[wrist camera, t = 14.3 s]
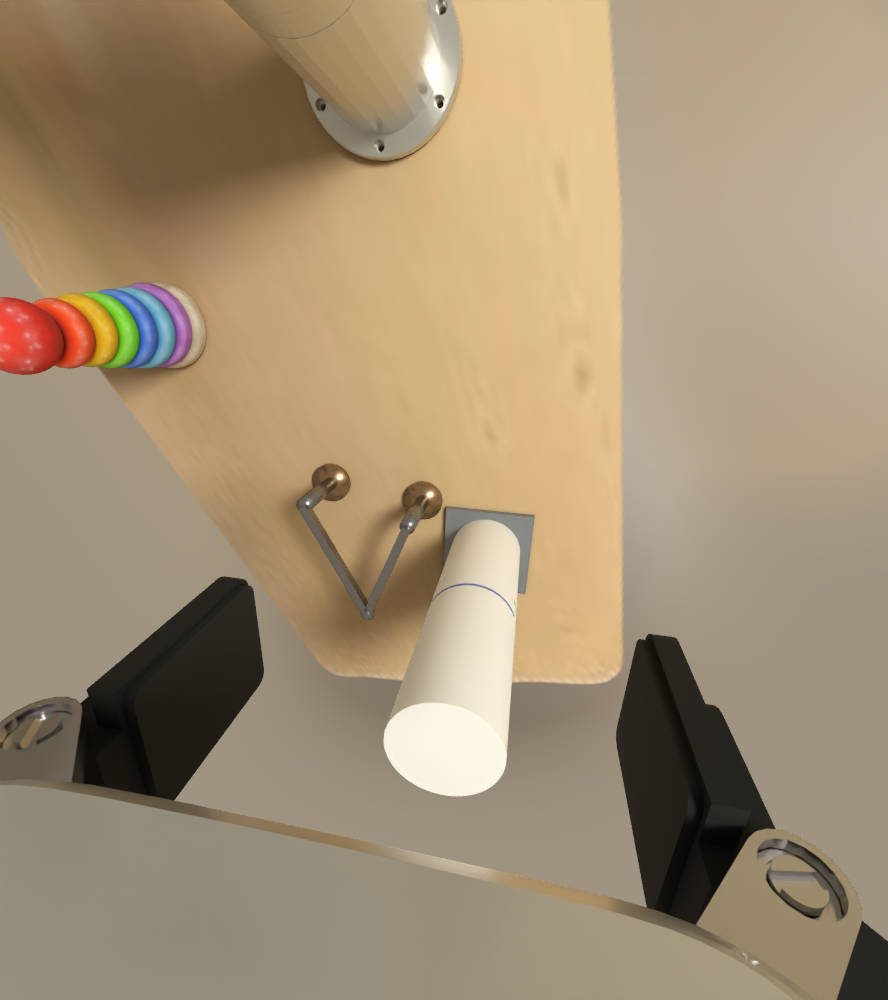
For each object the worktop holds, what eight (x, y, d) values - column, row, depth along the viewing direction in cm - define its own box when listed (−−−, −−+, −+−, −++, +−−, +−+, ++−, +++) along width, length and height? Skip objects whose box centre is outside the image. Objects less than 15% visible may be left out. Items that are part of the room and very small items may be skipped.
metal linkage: (313, 462, 51) (277, 486, 44) (443, 474, 49) (427, 501, 42) (321, 574, 56) (290, 612, 49) (439, 589, 54) (424, 631, 47)
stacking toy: (146, 364, 50) (-58, 391, 33) (131, 280, 47) (-101, 262, 30) (215, 370, 49) (41, 401, 32) (204, 284, 46) (6, 269, 29)
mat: (446, 506, 50) (446, 508, 49) (534, 515, 48) (534, 517, 48) (443, 580, 53) (442, 583, 53) (525, 591, 52) (525, 594, 51)
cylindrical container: (500, 508, 48) (467, 687, 25) (532, 565, 50) (528, 781, 27) (440, 535, 51) (360, 722, 28) (472, 589, 52) (422, 806, 29)
